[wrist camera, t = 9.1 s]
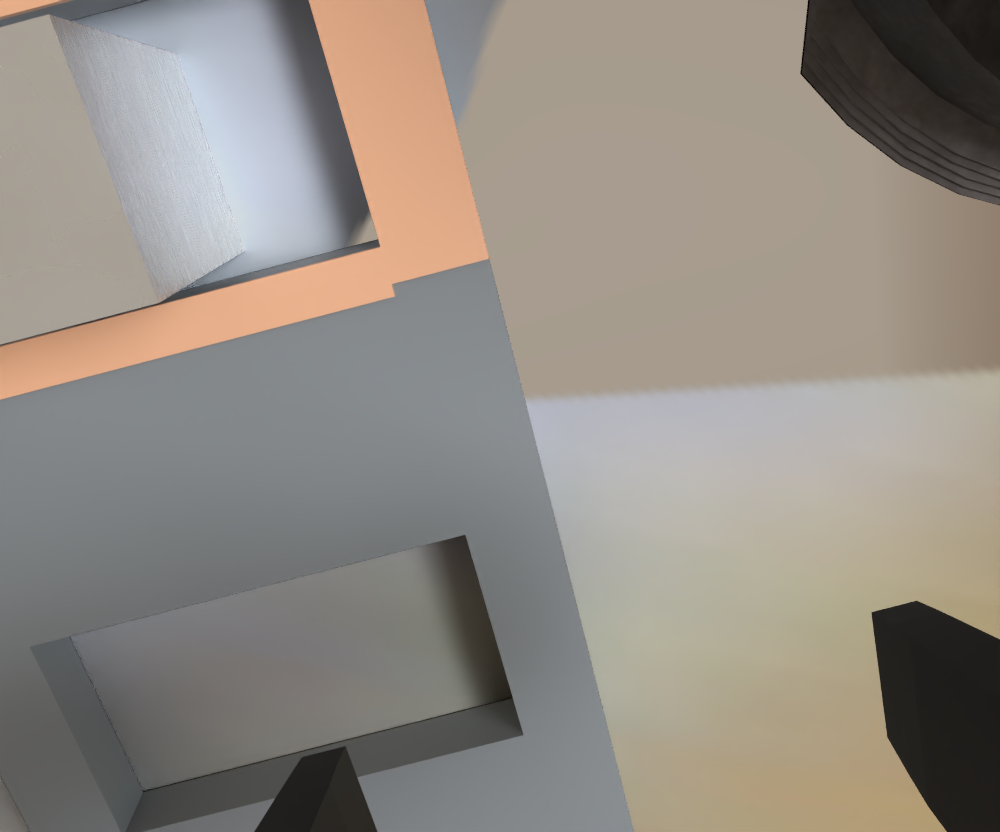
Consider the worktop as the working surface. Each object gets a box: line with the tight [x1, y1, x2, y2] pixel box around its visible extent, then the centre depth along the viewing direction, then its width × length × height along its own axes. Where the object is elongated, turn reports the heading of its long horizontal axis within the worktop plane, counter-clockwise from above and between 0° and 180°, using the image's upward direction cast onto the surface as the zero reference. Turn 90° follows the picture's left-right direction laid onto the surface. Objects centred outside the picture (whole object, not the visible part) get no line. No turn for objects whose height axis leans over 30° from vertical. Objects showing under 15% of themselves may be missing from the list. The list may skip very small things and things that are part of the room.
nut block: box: [0, 14, 244, 344], centre depth 15 cm, size 4×4×6 cm
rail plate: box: [0, 0, 634, 832], centre depth 19 cm, size 14×26×2 cm, turn 14°
